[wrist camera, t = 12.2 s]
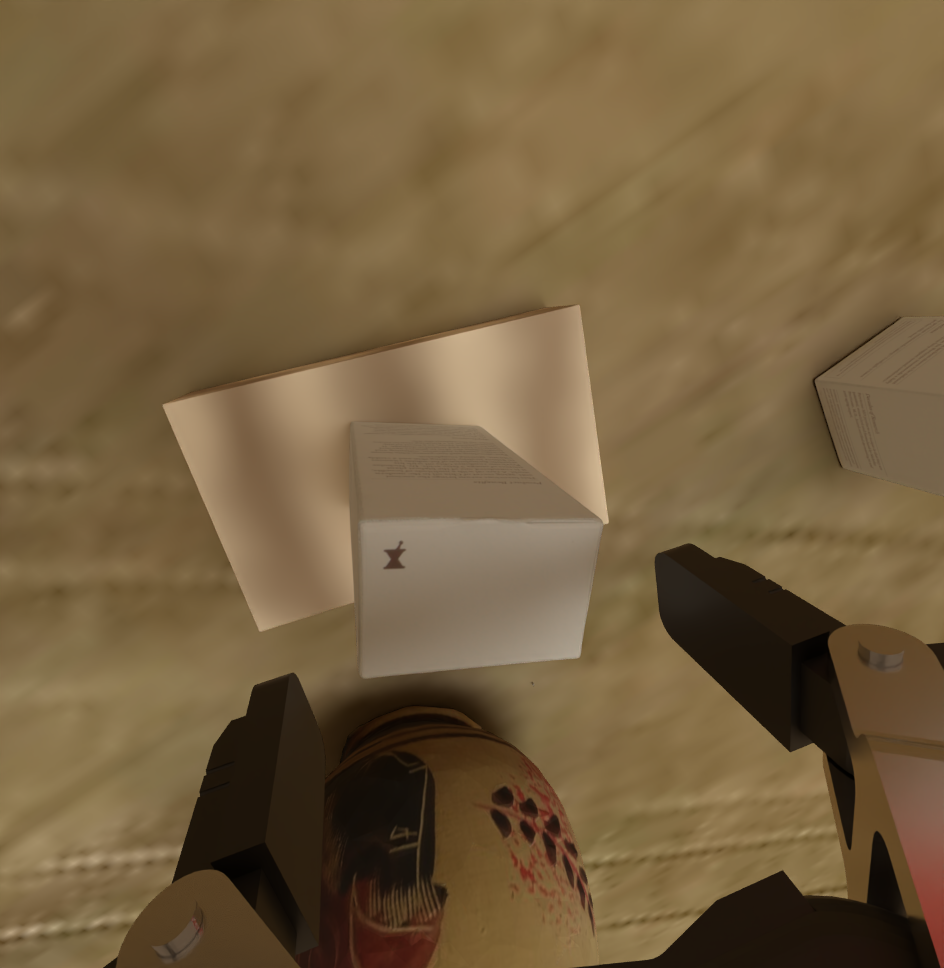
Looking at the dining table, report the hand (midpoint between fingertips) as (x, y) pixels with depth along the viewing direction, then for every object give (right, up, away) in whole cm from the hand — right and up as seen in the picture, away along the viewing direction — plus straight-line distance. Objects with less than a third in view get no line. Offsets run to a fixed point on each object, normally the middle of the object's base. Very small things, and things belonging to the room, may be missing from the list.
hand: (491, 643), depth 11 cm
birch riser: (-4, +5, +16) cm, 17 cm away
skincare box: (-3, +4, +13) cm, 14 cm away
